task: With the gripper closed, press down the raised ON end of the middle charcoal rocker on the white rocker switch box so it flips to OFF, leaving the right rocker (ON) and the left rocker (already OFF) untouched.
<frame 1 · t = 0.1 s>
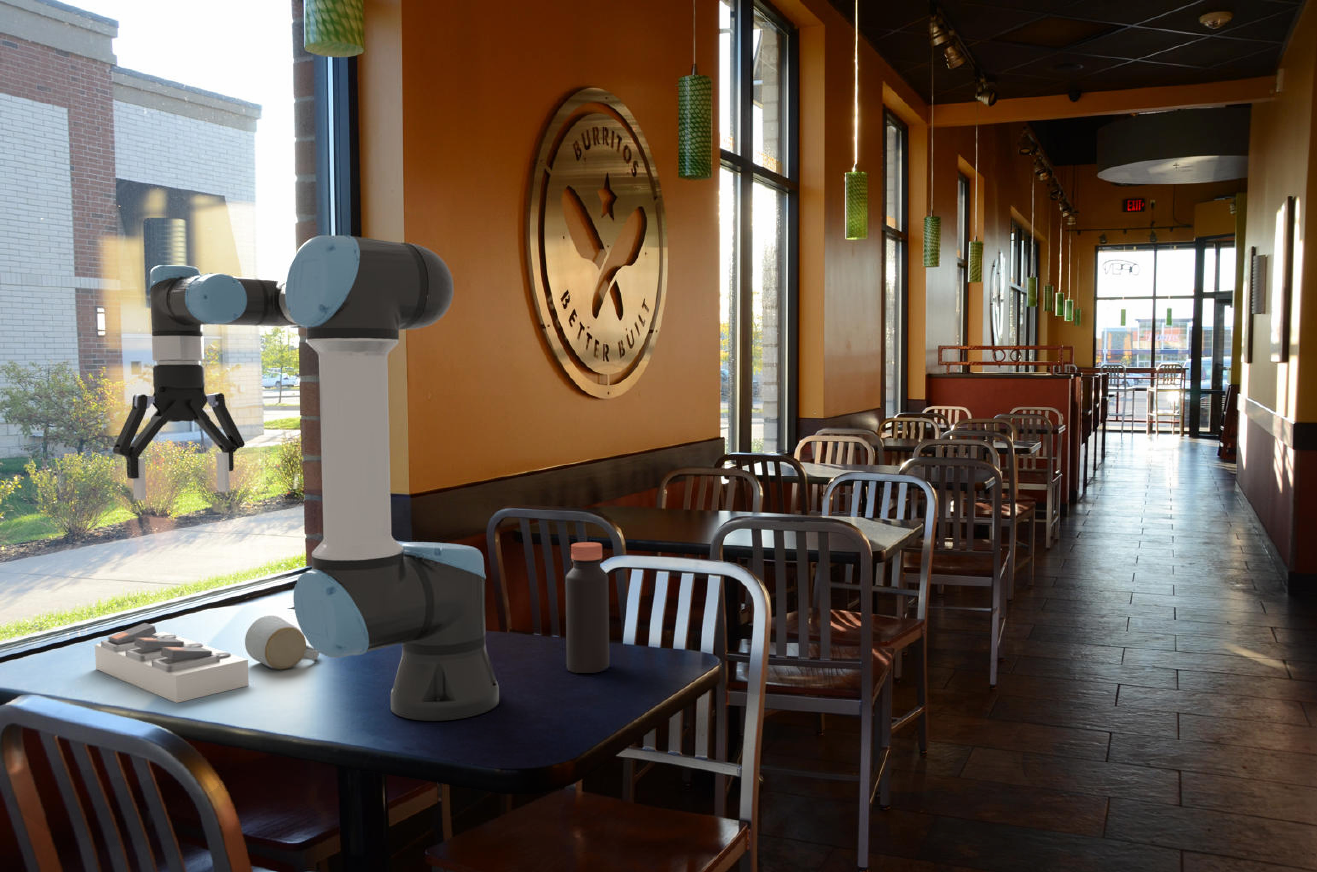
hand: (183, 495, 170), 28 cm above the table, tool pointing down, fingers open, 13 cm apart
ceramic mug: (284, 665, 173), on the table
rocker 2: (186, 652, 158), point 6 cm above the table, hinge at 12.0°
white rocker switch box: (170, 676, 165), on the table
bottle: (588, 670, 168), on the table
rocker 1: (132, 634, 170), point 6 cm above the table, hinge at -12.0°
rocker middle: (159, 643, 164), point 6 cm above the table, hinge at 12.0°
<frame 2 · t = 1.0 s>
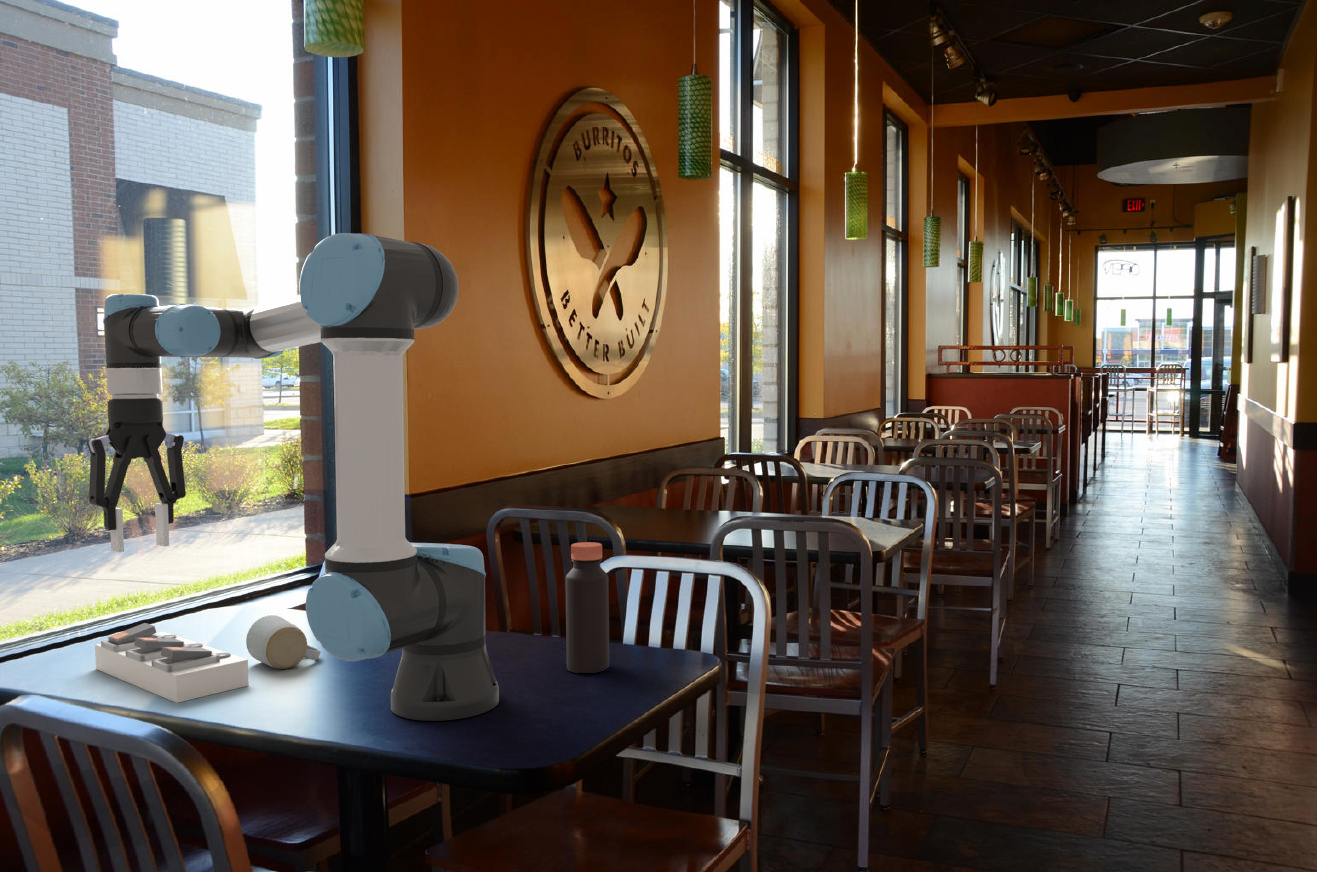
hand: (140, 547, 161), 21 cm above the table, tool pointing down, fingers open, 6 cm apart
nothing on the table moved.
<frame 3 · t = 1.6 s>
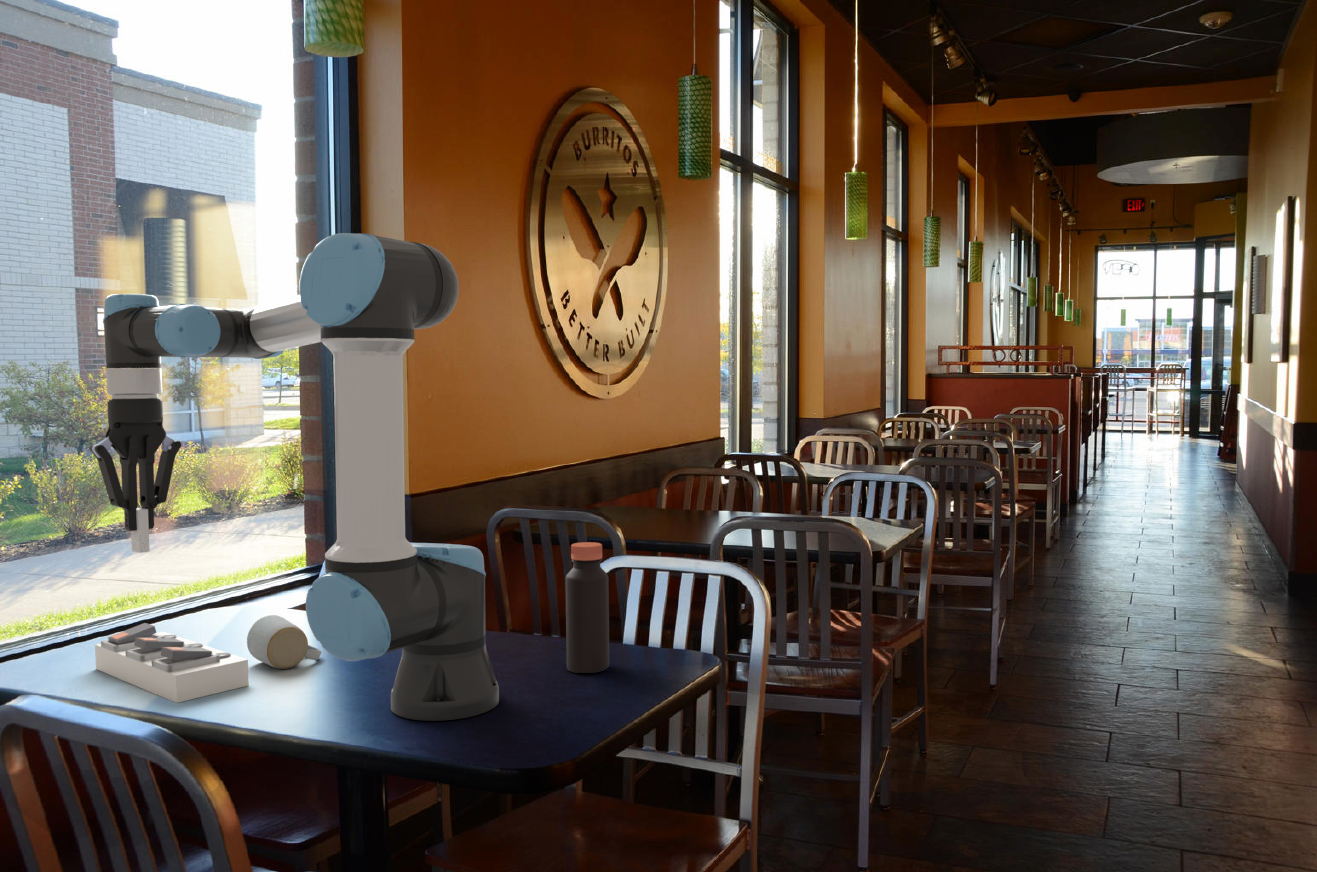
hand: (140, 551, 161), 20 cm above the table, tool pointing down, fingers closed
nothing on the table moved.
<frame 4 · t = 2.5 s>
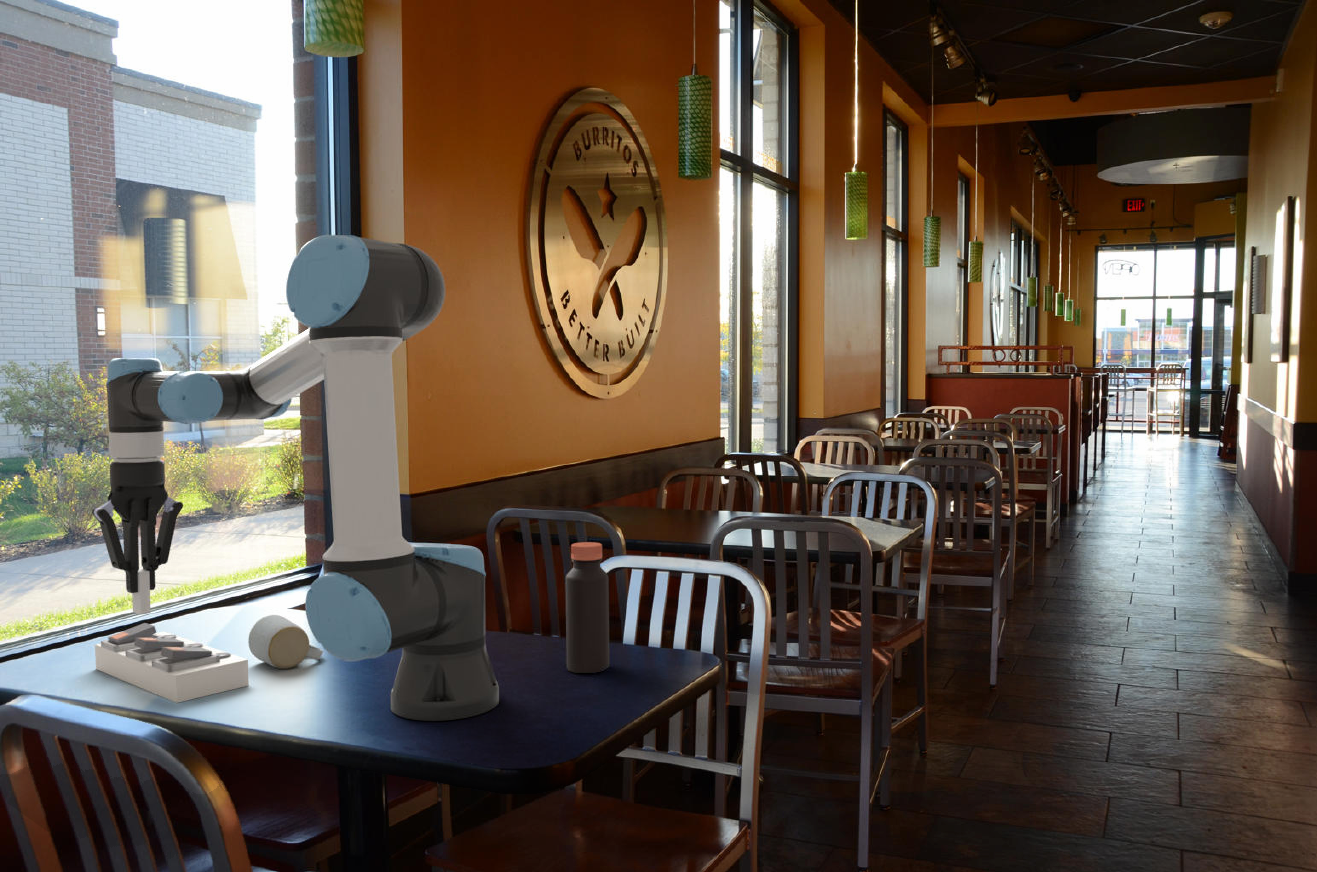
hand: (141, 612, 162), 11 cm above the table, tool pointing down, fingers closed
nothing on the table moved.
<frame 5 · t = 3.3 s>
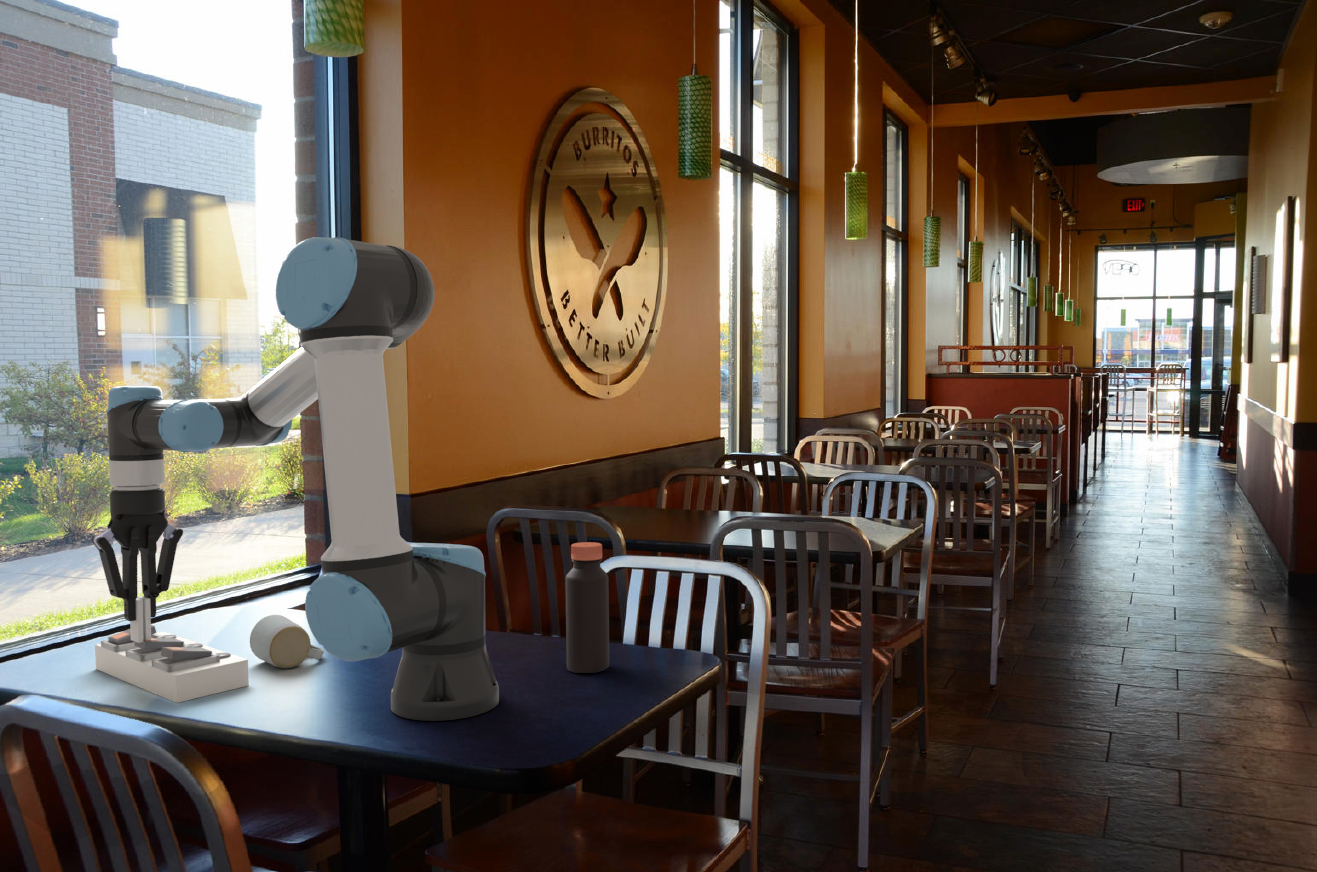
hand: (140, 639, 162), 7 cm above the table, tool pointing down, fingers closed
rocker middle: (159, 643, 164), point 6 cm above the table, hinge at 11.6°, touching gripper
everything else where it was.
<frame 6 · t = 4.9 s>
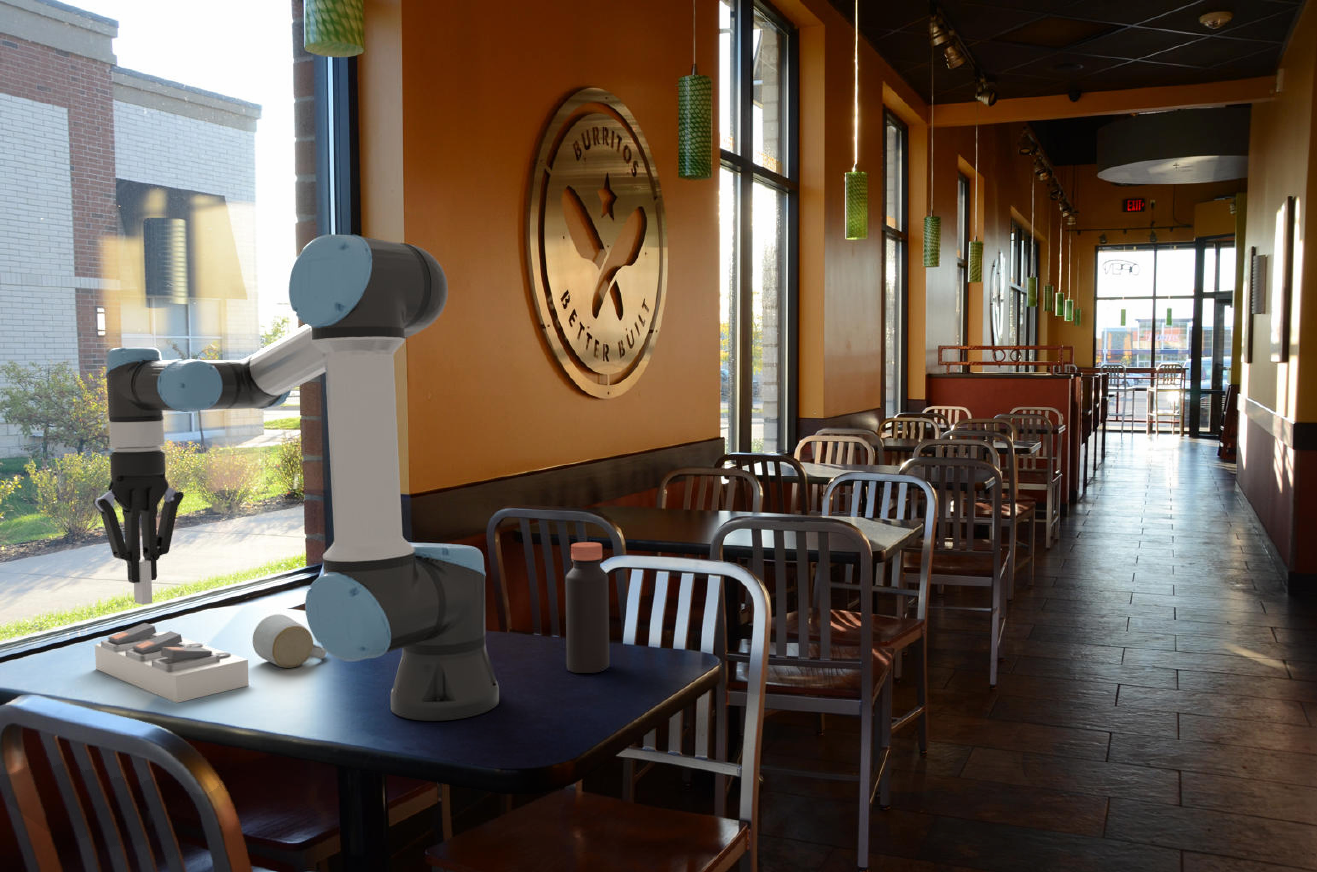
hand: (143, 602, 162), 12 cm above the table, tool pointing down, fingers closed
rocker middle: (157, 643, 164), point 6 cm above the table, hinge at -12.3°
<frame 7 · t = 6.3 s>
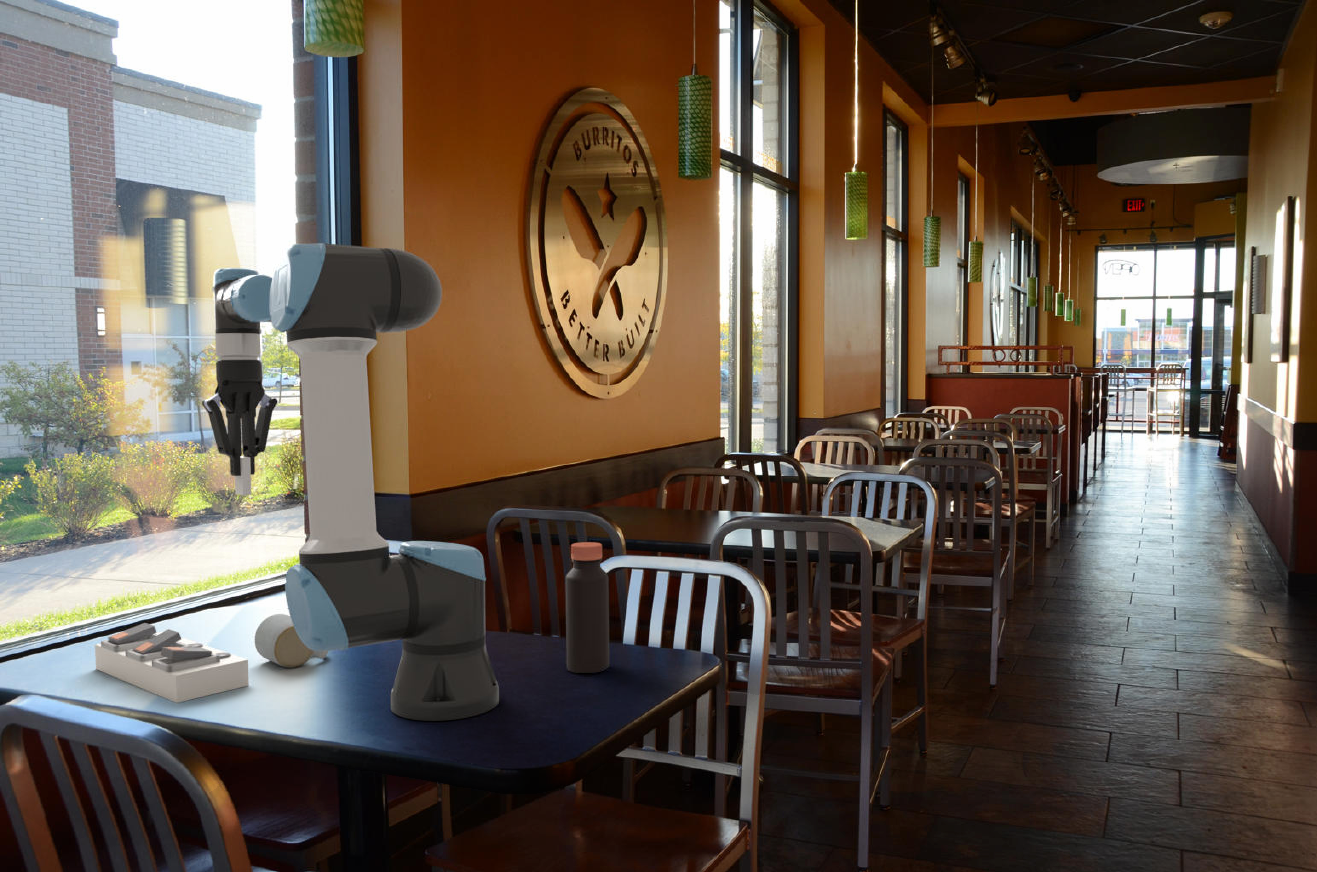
hand: (243, 494, 184), 26 cm above the table, tool pointing down, fingers closed
rocker middle: (157, 643, 164), point 6 cm above the table, hinge at -20.7°, touching white rocker switch box
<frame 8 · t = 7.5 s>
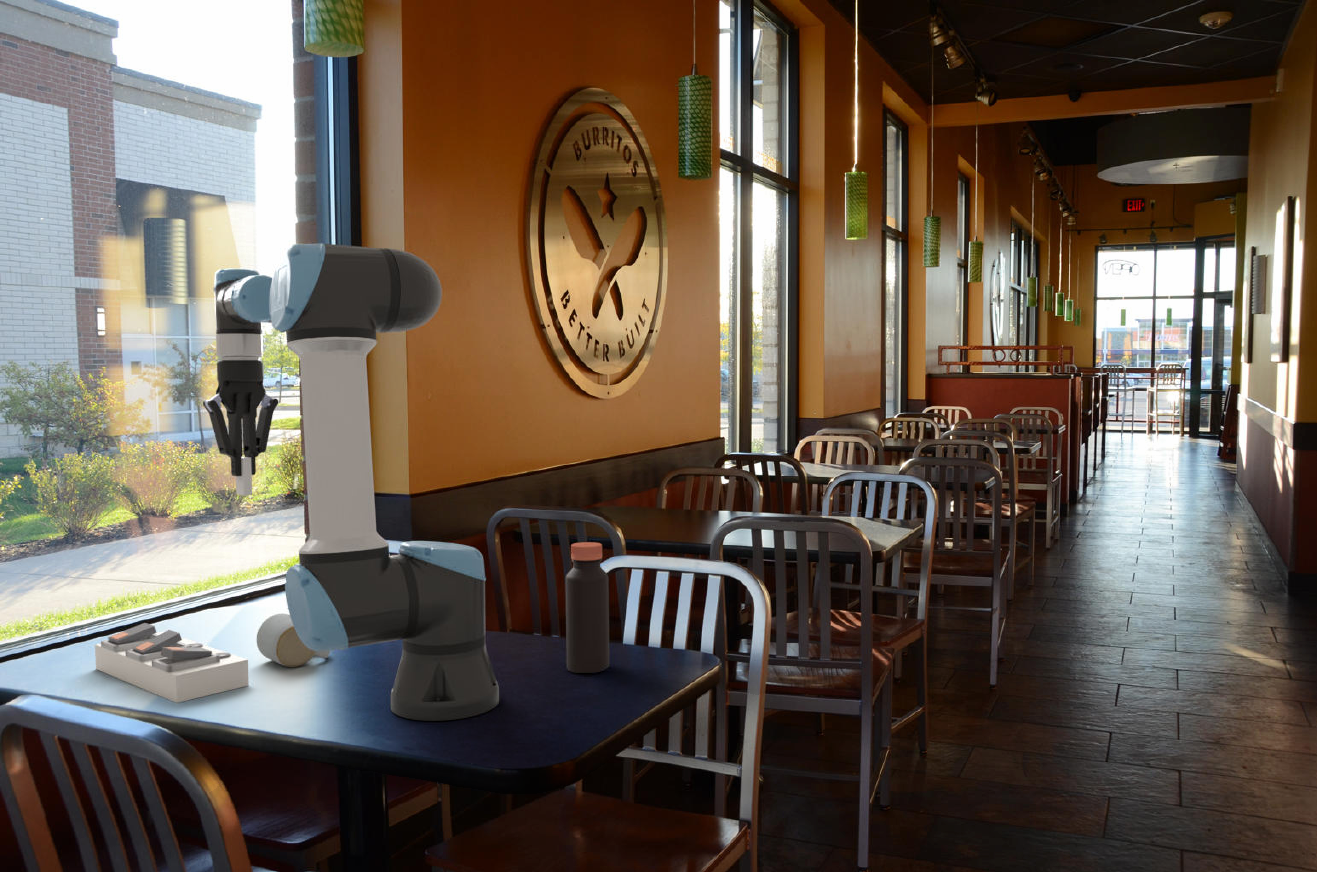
hand: (244, 494, 184), 26 cm above the table, tool pointing down, fingers closed
rocker middle: (157, 643, 164), point 6 cm above the table, hinge at -17.7°
at the end: rocker middle at -18° (first picture: +12°); rocker 2 at +12° (first picture: +12°); rocker 1 at -12° (first picture: -12°) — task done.
